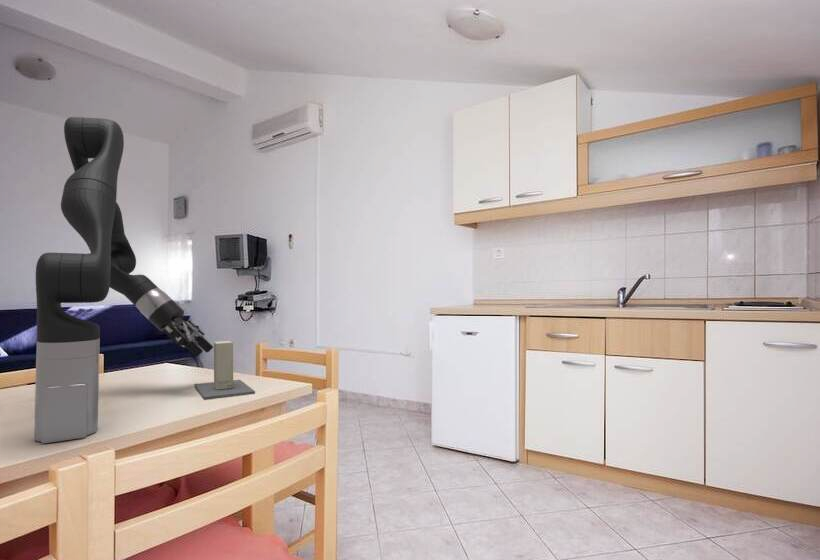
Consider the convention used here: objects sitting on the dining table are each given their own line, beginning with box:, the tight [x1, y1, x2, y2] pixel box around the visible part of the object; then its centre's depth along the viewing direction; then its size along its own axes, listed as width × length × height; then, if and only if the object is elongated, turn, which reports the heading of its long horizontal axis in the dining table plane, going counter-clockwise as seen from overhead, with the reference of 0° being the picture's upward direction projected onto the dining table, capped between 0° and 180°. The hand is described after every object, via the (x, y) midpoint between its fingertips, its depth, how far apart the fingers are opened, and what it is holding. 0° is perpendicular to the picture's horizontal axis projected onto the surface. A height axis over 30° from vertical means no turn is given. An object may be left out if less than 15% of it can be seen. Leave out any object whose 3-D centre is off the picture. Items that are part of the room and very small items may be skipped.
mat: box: [193, 379, 256, 401], centre depth 118 cm, size 18×12×1 cm, turn 33°
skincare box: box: [213, 340, 234, 390], centre depth 118 cm, size 6×4×12 cm
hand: (205, 352), depth 117 cm, fingers open, 8 cm apart
